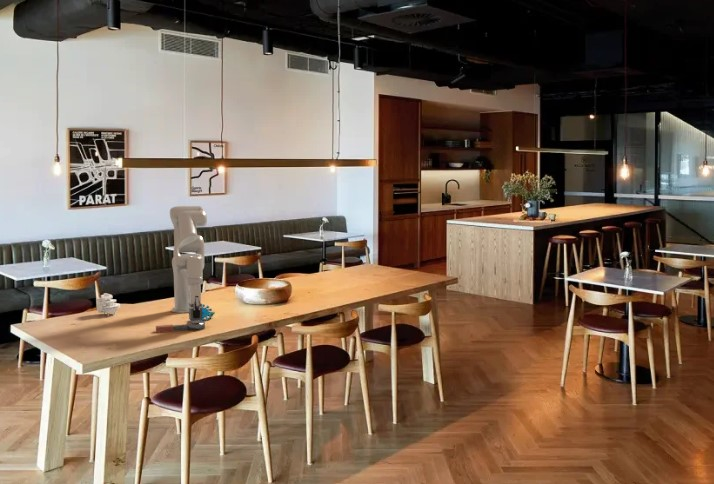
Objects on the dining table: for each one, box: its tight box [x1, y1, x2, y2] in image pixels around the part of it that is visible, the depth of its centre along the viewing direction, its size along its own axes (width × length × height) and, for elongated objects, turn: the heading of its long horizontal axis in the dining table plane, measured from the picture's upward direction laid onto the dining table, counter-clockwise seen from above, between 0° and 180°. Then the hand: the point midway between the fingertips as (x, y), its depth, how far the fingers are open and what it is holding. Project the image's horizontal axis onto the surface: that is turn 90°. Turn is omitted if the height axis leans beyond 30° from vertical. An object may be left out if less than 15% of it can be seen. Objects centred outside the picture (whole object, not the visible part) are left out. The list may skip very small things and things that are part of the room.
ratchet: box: [155, 320, 206, 334], centre depth 319 cm, size 9×24×7 cm, turn 113°
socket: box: [188, 303, 203, 321], centre depth 322 cm, size 6×6×8 cm
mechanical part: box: [96, 292, 121, 317], centre depth 350 cm, size 11×12×12 cm
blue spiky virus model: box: [200, 304, 216, 322], centre depth 343 cm, size 11×6×10 cm
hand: (195, 316), depth 322 cm, fingers closed on socket, 5 cm apart
